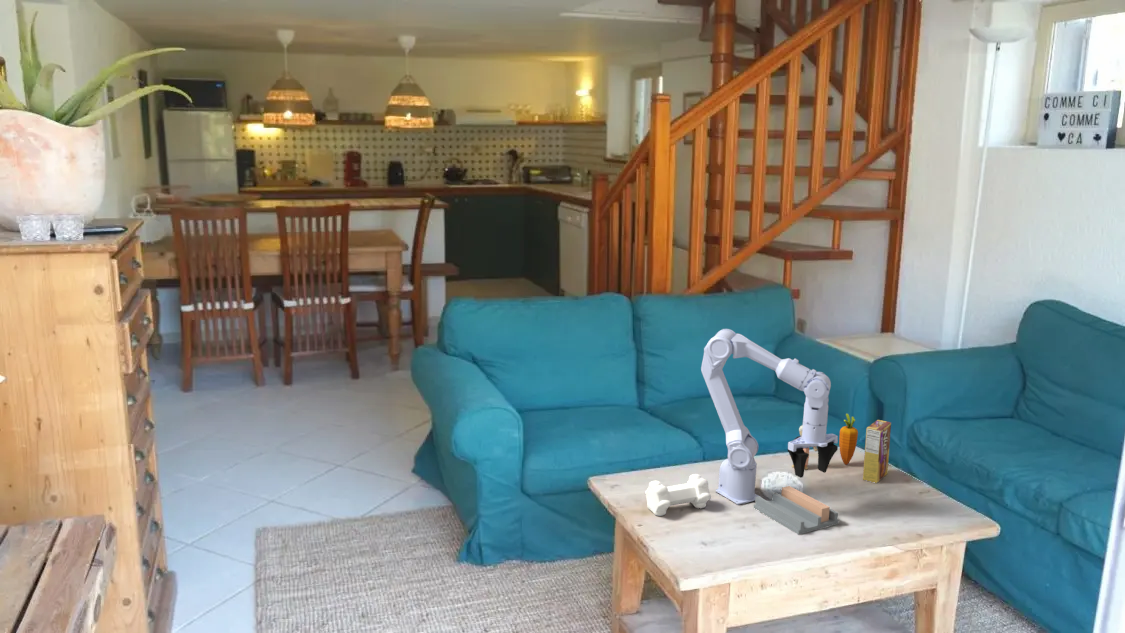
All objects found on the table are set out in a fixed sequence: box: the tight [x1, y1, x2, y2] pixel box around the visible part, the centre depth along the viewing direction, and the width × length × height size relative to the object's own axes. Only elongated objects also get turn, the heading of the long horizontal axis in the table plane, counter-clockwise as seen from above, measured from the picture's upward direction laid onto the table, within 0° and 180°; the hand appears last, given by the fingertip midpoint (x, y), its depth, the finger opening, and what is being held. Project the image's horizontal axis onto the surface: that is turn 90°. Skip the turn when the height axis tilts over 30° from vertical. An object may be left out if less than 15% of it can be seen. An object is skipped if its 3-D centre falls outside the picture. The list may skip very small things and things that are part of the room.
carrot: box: [838, 413, 859, 466], centre depth 244 cm, size 5×5×15 cm
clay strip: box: [780, 485, 831, 522], centre depth 213 cm, size 14×2×4 cm, turn 28°
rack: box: [753, 492, 840, 535], centre depth 212 cm, size 16×13×3 cm
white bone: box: [644, 473, 712, 517], centre depth 214 cm, size 15×9×8 cm, turn 114°
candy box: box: [862, 419, 892, 484], centre depth 236 cm, size 9×4×15 cm, turn 141°
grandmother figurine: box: [791, 424, 818, 471], centre depth 242 cm, size 8×4×13 cm, turn 81°
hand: (810, 473), depth 214 cm, fingers open, 7 cm apart
